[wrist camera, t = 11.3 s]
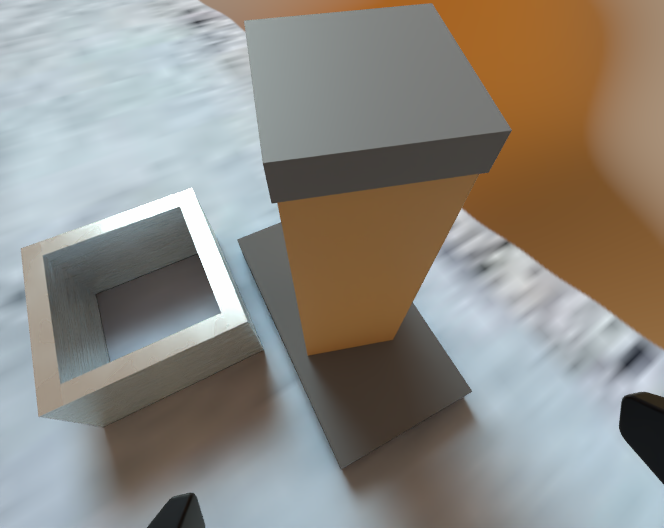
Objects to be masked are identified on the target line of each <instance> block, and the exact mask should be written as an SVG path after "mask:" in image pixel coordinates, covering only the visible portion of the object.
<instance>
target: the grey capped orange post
mask: <svg viewBox="0 0 664 528" xmlns="http://www.w3.org/2000/svg"><path fill="white" fill-rule="evenodd" d="M244 23H245V31H246V38H247V46H248V54H249V61H250V69H251V77H252V84H253V92H254V100H255V107H256V115H257V122H258V130H259V138H260V145H261V153H262V161H263V166H264V171H265V175H266V180H267V184H268V189H269V193H270V198H271V203H278V208H279V213H280V218H281V224H282V229H283V234H284V239H285V244H286V249H287V254H288V259H289V264H290V269H291V274H292V279H293V284H294V289H295V294H296V300H297V305H298V310H299V315H300V320H301V325H302V330H303V335H304V340H305V345H306V350H307V355H308V356H309V355H314V354H319V353H325V352H330V351H336V350H341V349H346V348H352V347H357V346H362V345H368V344H373V343H378V342H384V341H389V340H393V339H394V337H395V335H396V333H397V331H398V329H399V327H400V325H401V323H402V321H403V319H404V317H405V316H406V314H407V312H408V310H409V308H410V306H411V304H412V302H413V300H414V298H415V296H416V294H417V293H418V291H419V289H420V287H421V285H422V283H423V281H424V279H425V277H426V275H427V273H428V271H429V269H430V268H431V266H432V264H433V262H434V260H435V258H436V256H437V254H438V252H439V250H440V248H441V246H442V245H443V243H444V241H445V239H446V237H447V235H448V233H449V231H450V229H451V227H452V225H453V223H454V221H455V220H456V218H457V216H458V214H459V212H460V210H461V208H462V206H463V204H464V202H465V200H466V198H467V197H468V195H469V193H470V191H471V189H472V187H473V185H474V183H475V181H476V179H477V177H478V175H479V174H481V173H488V172H489V171H490V169H491V167H492V165H493V163H494V162H495V160H496V158H497V156H498V154H499V152H500V151H501V149H502V147H503V145H504V143H505V141H506V139H507V138H508V136H509V134H510V132H511V131H512V130H511V129H510V127H509V125H508V124H507V122H506V121H505V119H504V117H503V116H502V114H501V112H500V111H499V109H498V108H497V106H496V105H495V103H494V101H493V100H492V98H491V97H490V95H489V94H488V92H487V90H486V89H485V87H484V86H483V84H482V82H481V81H480V79H479V77H478V76H477V74H476V73H475V71H474V70H473V68H472V66H471V65H470V63H469V62H468V60H467V58H466V57H465V55H464V54H463V52H462V50H461V49H460V47H459V46H458V44H457V42H456V41H455V39H454V38H453V36H452V35H451V33H450V32H449V30H448V28H447V27H446V25H445V23H444V22H443V20H442V19H441V17H440V16H439V14H438V12H437V11H436V9H435V7H434V6H433V4H421V5H410V6H399V7H388V8H377V9H366V10H355V11H345V12H335V13H323V14H312V15H301V16H292V17H280V18H270V19H258V20H247V21H244Z"/></svg>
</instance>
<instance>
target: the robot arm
mask: <svg viewBox="0 0 664 528" xmlns="http://www.w3.org/2000/svg"><path fill="white" fill-rule="evenodd" d="M619 429H620V432H621V435H622V436H623V438H624V439H625V441H626V442H627V443H628V444H629V445H630V446H631V448H632V449H633V450H634V451H635V452H636V453H637V454H638V456H639V457H640V458H641V459H642V460H643V461H644V462H645V464H646V465H647V466H648V467H649V468H650V469H651V470H652V472H653V473H654V474H655V475H656V476H657V477H658V478H659V480H660V481H661V482H662V483H663V484H664V397H661V396H658V395H654V394H651V393H647V392H638V393H633V394H629V395H626V396H624V397H623V399H622V402H621V411H620V421H619ZM147 528H205V523H204V519H203V516H202V513H201V509H200V506H199V503H198V500H197V497H196V495H195V494H194V493H187V494H182V495H178V496H174V497H172V498H171V499H170V500H169V501H168V502H167V503H166V504H165V505H164V507H163V508H162V509H161V510H160V512H159V513H158V514H157V515H156V517H155V518H154V519H153V521H152V522H151V523H150V524H149V526H148V527H147Z"/></svg>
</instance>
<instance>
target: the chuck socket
mask: <svg viewBox="0 0 664 528" xmlns="http://www.w3.org/2000/svg"><path fill="white" fill-rule="evenodd" d="M197 253H198V254H199V256H200V259H201V261H202V264H203V267H204V269H205V272H206V274H207V277H208V280H209V282H210V285H211V287H212V290H213V293H214V295H215V298H216V300H217V303H218V306H219V308H220V311H221V313H220V314H218V315H216V316H213V317H211V318H209V319H207V320H204V321H202V322H200V323H198V324H195V325H193V326H191V327H189V328H186V329H184V330H182V331H179V332H177V333H175V334H173V335H170V336H168V337H166V338H164V339H161V340H159V341H157V342H155V343H152V344H150V345H148V346H146V347H143V348H141V349H139V350H137V351H134V352H132V353H130V354H128V355H125V356H123V357H121V358H119V359H116V360H114V361H112V362H110V361H109V356H108V351H107V346H106V341H105V337H104V332H103V327H102V322H101V318H100V313H99V308H98V303H97V298H96V294H97V293H99V292H102V291H104V290H107V289H109V288H112V287H114V286H117V285H119V284H122V283H124V282H127V281H129V280H132V279H134V278H137V277H139V276H142V275H144V274H147V273H150V272H152V271H155V270H157V269H160V268H162V267H165V266H167V265H170V264H172V263H175V262H177V261H180V260H182V259H185V258H187V257H190V256H192V255H195V254H197ZM21 255H22V265H23V274H24V283H25V293H26V302H27V312H28V321H29V331H30V340H31V350H32V359H33V368H34V378H35V387H36V397H37V406H38V416H39V417H43V418H49V419H56V420H62V421H68V422H74V423H81V424H87V425H93V426H100V427H104V426H106V425H108V424H110V423H112V422H114V421H117V420H119V419H121V418H123V417H125V416H127V415H129V414H131V413H133V412H135V411H137V410H139V409H141V408H144V407H146V406H148V405H150V404H152V403H154V402H156V401H158V400H160V399H162V398H164V397H166V396H168V395H171V394H173V393H175V392H177V391H179V390H181V389H183V388H185V387H187V386H189V385H191V384H193V383H195V382H198V381H200V380H202V379H204V378H206V377H208V376H210V375H212V374H214V373H216V372H218V371H220V370H222V369H225V368H227V367H229V366H231V365H233V364H235V363H237V362H239V361H241V360H243V359H245V358H247V357H249V356H252V355H254V354H256V353H258V352H260V351H262V350H264V349H263V347H262V344H261V342H260V340H259V337H258V335H257V333H256V330H255V328H254V325H253V323H252V321H251V318H250V316H249V314H248V311H247V309H246V307H245V304H244V302H243V299H242V297H241V295H240V292H239V290H238V288H237V285H236V283H235V281H234V278H233V276H232V273H231V271H230V269H229V266H228V264H227V262H226V259H225V257H224V255H223V252H222V250H221V248H220V245H219V243H218V240H217V238H216V236H215V233H214V231H213V229H212V227H211V225H210V223H209V221H208V219H207V217H206V215H205V213H204V211H203V209H202V207H201V205H200V203H199V201H198V199H197V197H196V195H195V193H194V191H193V189H192V188H191V189H188V190H185V191H182V192H179V193H177V194H174V195H171V196H168V197H165V198H162V199H160V200H157V201H154V202H151V203H148V204H145V205H143V206H140V207H137V208H134V209H131V210H128V211H126V212H123V213H120V214H117V215H114V216H111V217H109V218H106V219H103V220H100V221H97V222H94V223H92V224H89V225H86V226H83V227H80V228H78V229H75V230H72V231H69V232H66V233H63V234H61V235H58V236H55V237H52V238H49V239H46V240H44V241H41V242H38V243H35V244H32V245H29V246H27V247H24V248H21Z"/></svg>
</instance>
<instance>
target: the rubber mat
mask: <svg viewBox="0 0 664 528" xmlns="http://www.w3.org/2000/svg"><path fill="white" fill-rule="evenodd" d="M238 243H239V245H240V248H241V250H242V253H243V255H244V257H245V259H246V261H247V264H248V266H249V268H250V270H251V272H252V275H253V277H254V279H255V281H256V283H257V286H258V288H259V290H260V292H261V294H262V297H263V299H264V301H265V303H266V305H267V308H268V310H269V312H270V314H271V316H272V319H273V321H274V323H275V325H276V327H277V330H278V332H279V334H280V336H281V338H282V341H283V343H284V345H285V347H286V349H287V352H288V354H289V356H290V358H291V360H292V363H293V365H294V367H295V369H296V371H297V373H298V376H299V378H300V380H301V382H302V384H303V387H304V389H305V391H306V393H307V395H308V398H309V400H310V402H311V404H312V406H313V409H314V411H315V413H316V415H317V417H318V420H319V422H320V424H321V426H322V428H323V431H324V433H325V435H326V437H327V439H328V442H329V444H330V446H331V448H332V450H333V453H334V455H335V457H336V459H337V461H338V464H339V466H340V468H341V469H343V468H345V467H346V466H348V465H350V464H351V463H353V462H355V461H356V460H358V459H360V458H361V457H363V456H365V455H366V454H368V453H370V452H371V451H373V450H375V449H376V448H378V447H380V446H381V445H383V444H385V443H387V442H388V441H390V440H392V439H393V438H395V437H397V436H398V435H400V434H402V433H403V432H405V431H407V430H408V429H410V428H412V427H413V426H415V425H417V424H418V423H420V422H422V421H424V420H425V419H427V418H429V417H430V416H432V415H434V414H435V413H437V412H439V411H440V410H442V409H444V408H445V407H447V406H449V405H450V404H452V403H454V402H455V401H457V400H459V399H460V398H462V397H464V396H466V395H467V394H469V393H471V392H472V390H471V389H470V387H469V386H468V384H467V383H466V381H465V380H464V378H463V377H462V375H461V374H460V372H459V371H458V369H457V368H456V366H455V365H454V363H453V362H452V360H451V359H450V358H449V356H448V355H447V353H446V352H445V350H444V349H443V347H442V346H441V344H440V343H439V341H438V340H437V338H436V337H435V335H434V334H433V332H432V331H431V329H430V328H429V326H428V325H427V323H426V322H425V320H424V319H423V317H422V316H421V314H420V313H419V311H418V310H417V308H416V307H415V305H414V304H413V302H412V304H411V306H410V308H409V310H408V312H407V314H406V316H405V317H404V319H403V321H402V323H401V325H400V327H399V329H398V331H397V333H396V335H395V337H394V339H393V340H389V341H384V342H378V343H373V344H368V345H362V346H357V347H352V348H346V349H341V350H336V351H330V352H325V353H319V354H314V355H309V356H308V355H307V350H306V345H305V340H304V335H303V330H302V325H301V320H300V315H299V310H298V305H297V300H296V294H295V289H294V284H293V279H292V274H291V269H290V264H289V259H288V254H287V249H286V244H285V239H284V234H283V229H282V224H281V223H278V224H276V225H273V226H270V227H268V228H265V229H263V230H260V231H258V232H255V233H253V234H250V235H248V236H245V237H243V238H240V239H238Z"/></svg>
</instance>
